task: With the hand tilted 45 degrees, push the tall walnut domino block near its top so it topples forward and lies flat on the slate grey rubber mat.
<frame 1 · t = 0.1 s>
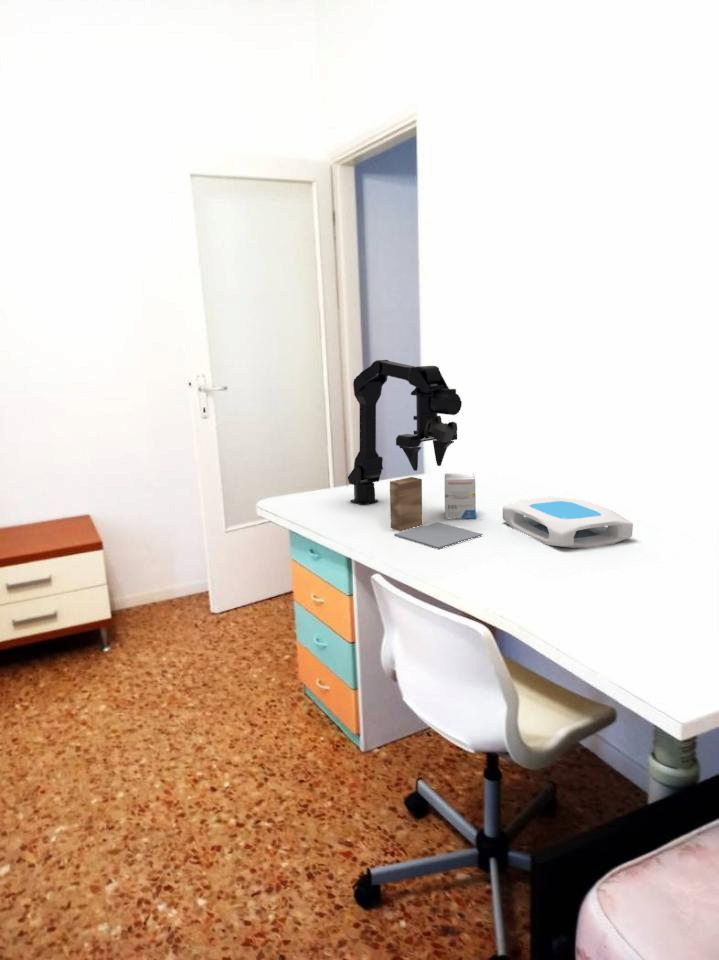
hand: (427, 468, 193), 15 cm above the table, tool pointing down, fingers open, 9 cm apart
white blue plastic platform: (563, 533, 180), on the table
ink box: (459, 516, 199), on the table
walnut domino block: (406, 526, 188), on the table
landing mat: (438, 535, 179), on the table
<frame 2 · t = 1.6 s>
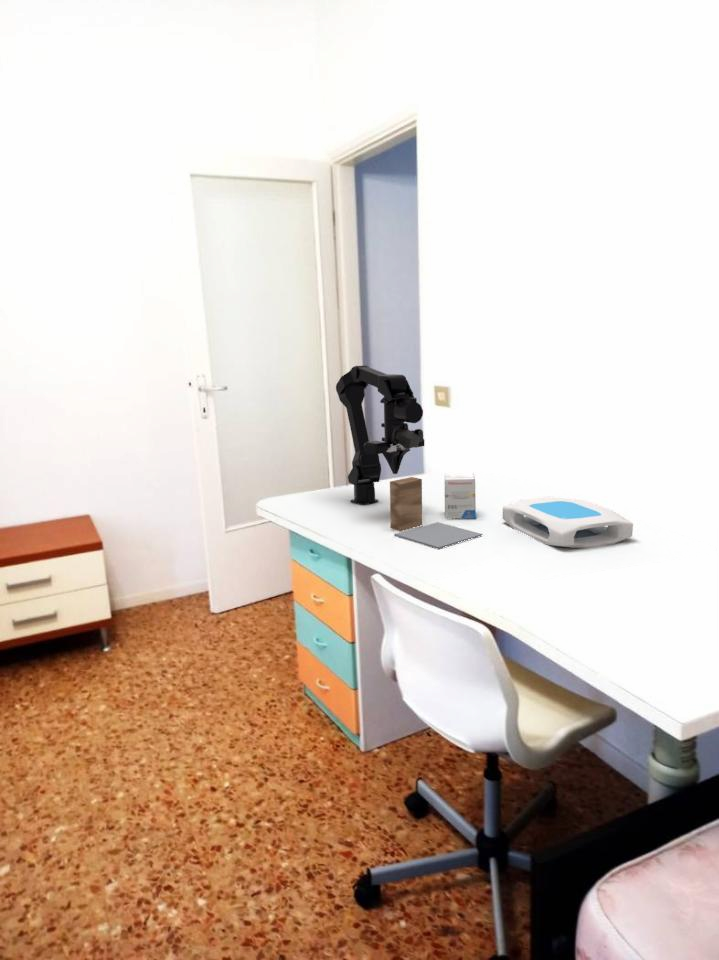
hand: (395, 473, 199), 12 cm above the table, tool pointing down, fingers closed
nothing on the table moved.
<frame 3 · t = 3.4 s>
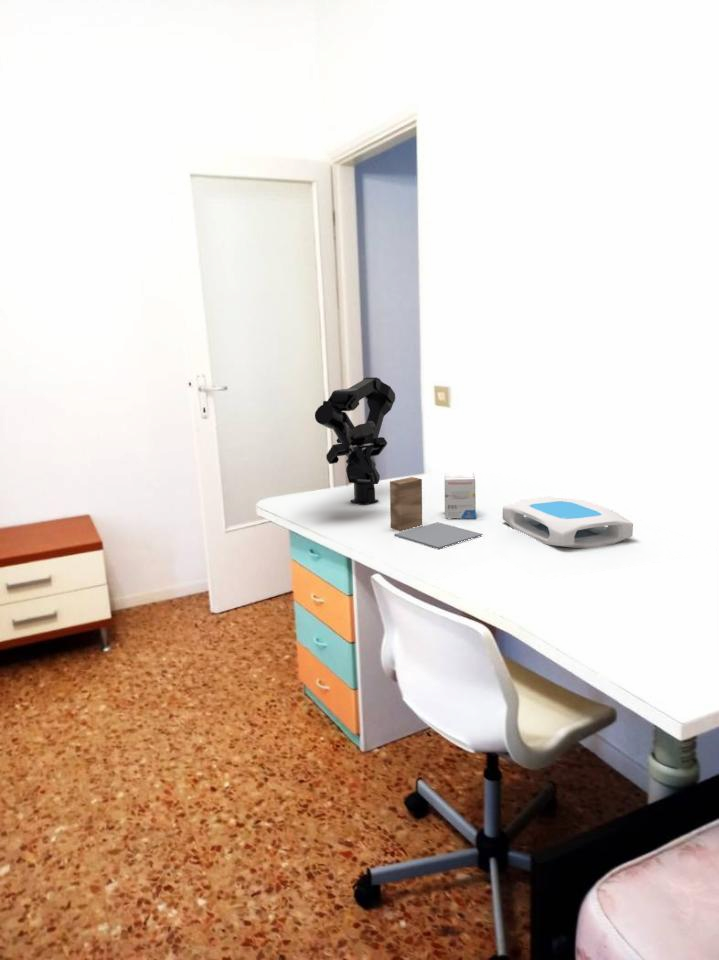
hand: (371, 473, 193), 14 cm above the table, tool tilted 45°, fingers closed
nothing on the table moved.
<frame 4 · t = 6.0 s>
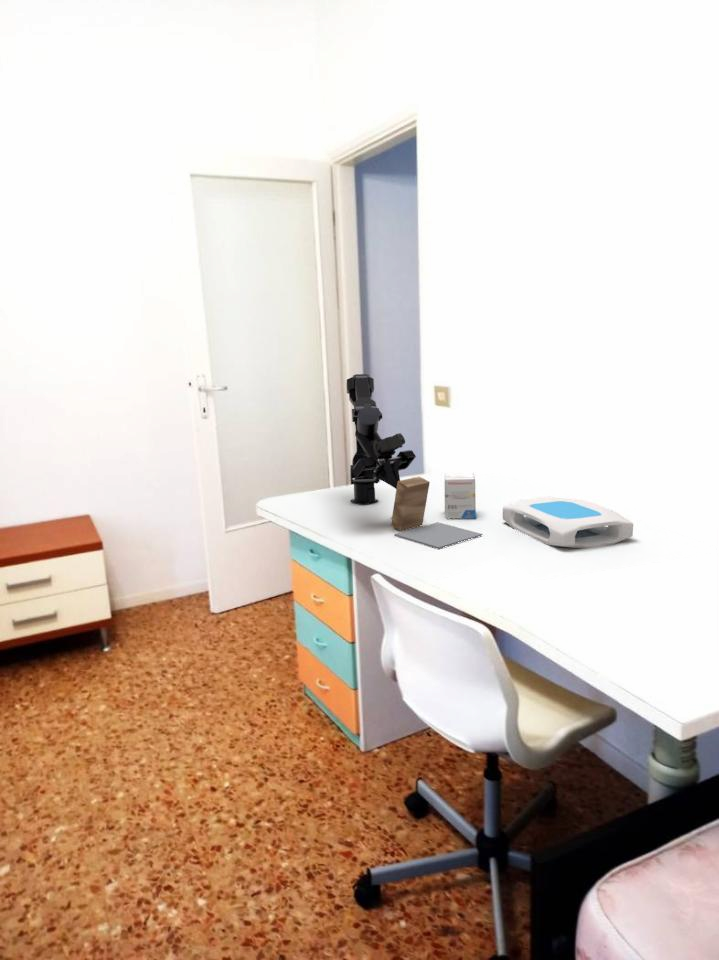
hand: (399, 488, 184), 11 cm above the table, tool tilted 45°, fingers closed
walnut domino block: (406, 525, 188), on the table, tilted 13°
everything else where it was.
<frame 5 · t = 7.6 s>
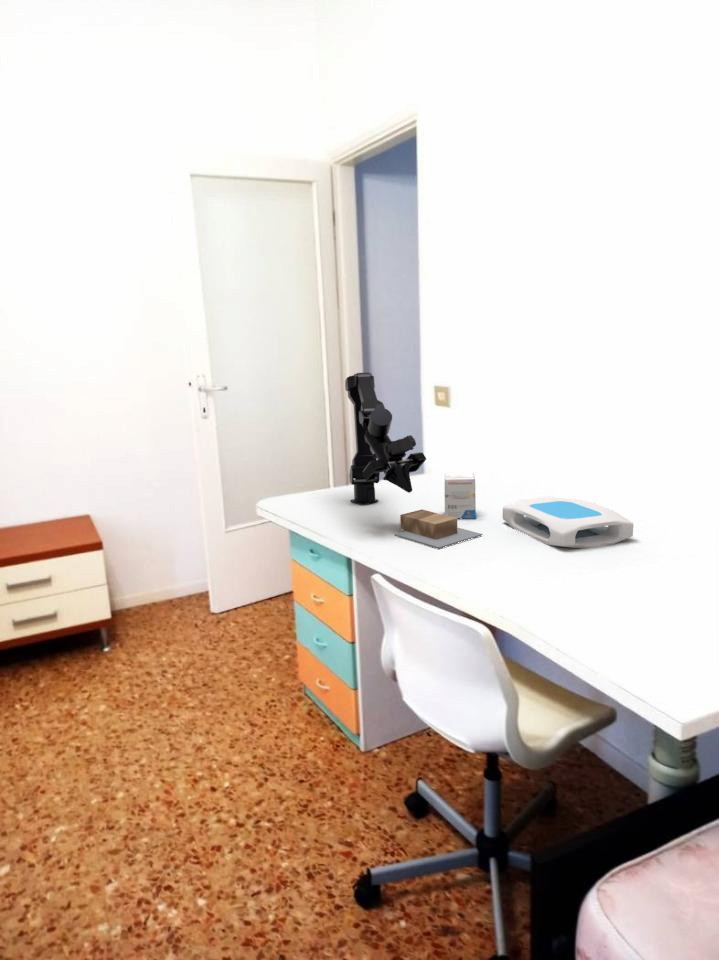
hand: (410, 491, 181), 11 cm above the table, tool tilted 45°, fingers closed
walnut domino block: (411, 519, 186), point 2 cm above the table, tilted 90°, touching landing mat
everything else where it was.
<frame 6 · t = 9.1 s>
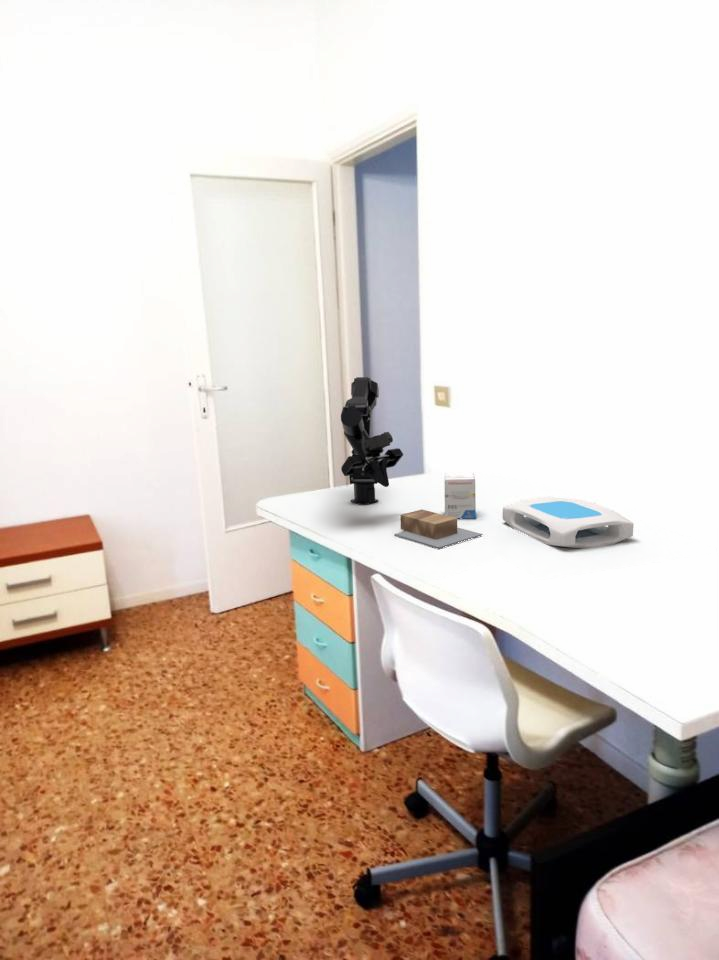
hand: (387, 485, 188), 11 cm above the table, tool tilted 45°, fingers closed
nothing on the table moved.
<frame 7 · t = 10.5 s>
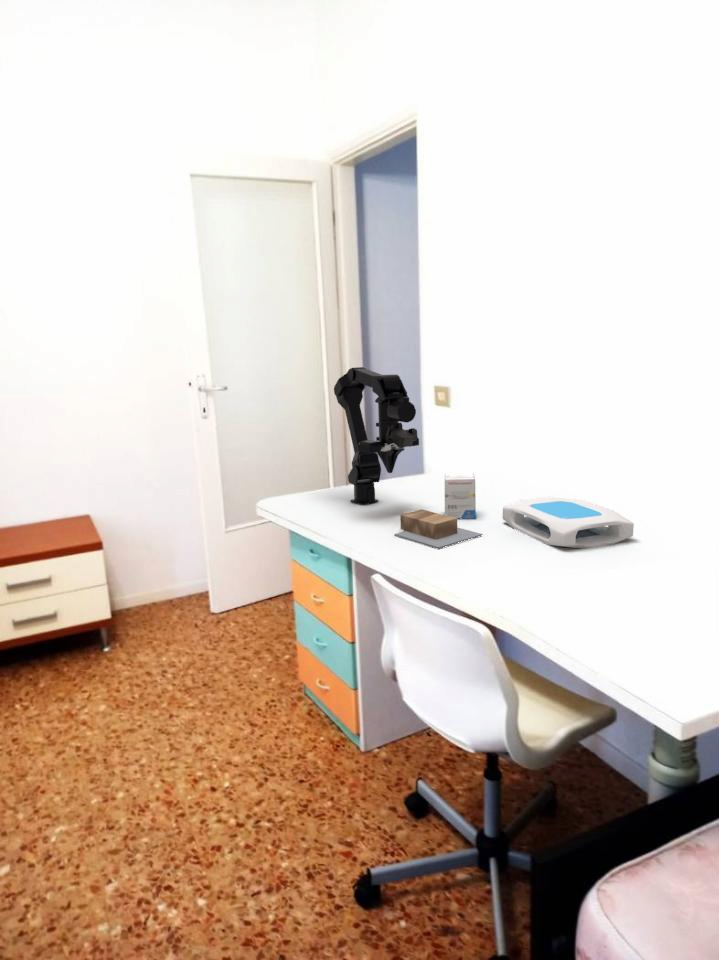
hand: (390, 472, 201), 12 cm above the table, tool pointing down, fingers closed
nothing on the table moved.
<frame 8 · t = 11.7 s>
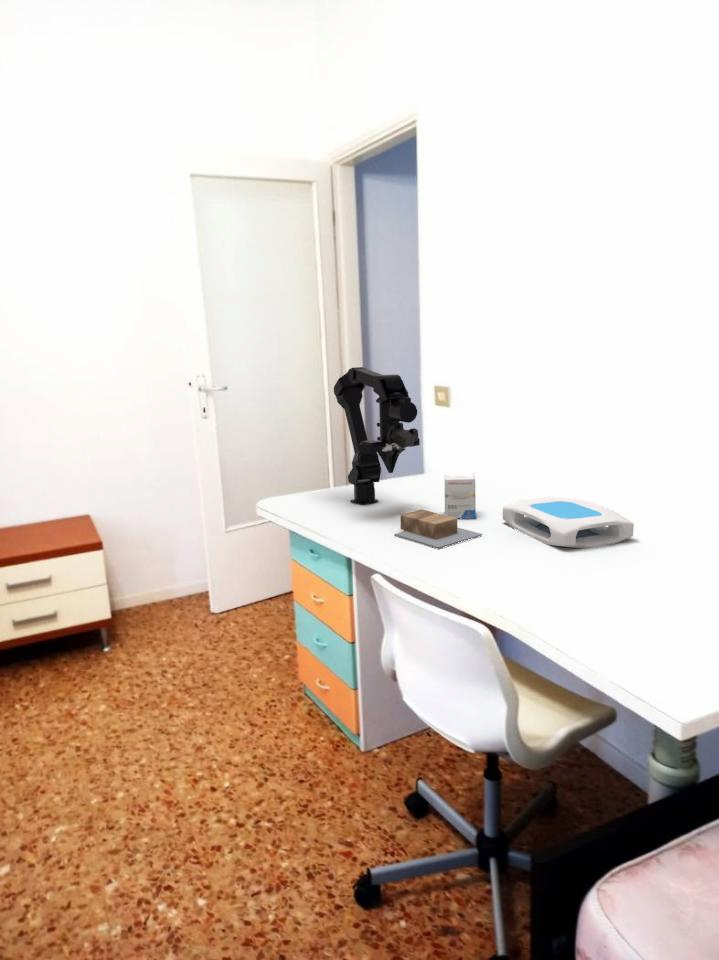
hand: (390, 472, 201), 12 cm above the table, tool pointing down, fingers closed
nothing on the table moved.
at the end: walnut domino block tilted 90°; walnut domino block touching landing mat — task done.
